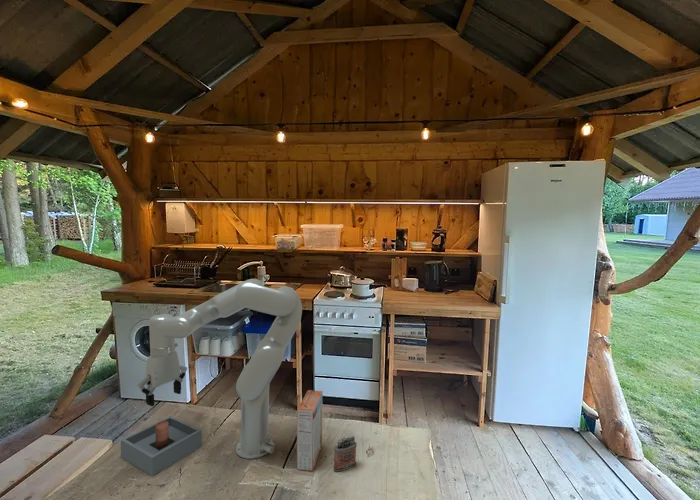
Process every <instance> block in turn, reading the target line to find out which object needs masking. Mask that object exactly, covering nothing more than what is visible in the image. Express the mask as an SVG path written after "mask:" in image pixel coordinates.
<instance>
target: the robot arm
mask: <svg viewBox="0 0 700 500" xmlns="http://www.w3.org/2000/svg"><path fill="white" fill-rule="evenodd" d="M302 305H303V304H302V300H301V298H300V296H299V294H298V292H296V290H295V289H294V288H293V287H291V286H281V287H279V288H276V289H275V288H270V287H267V286H265V285H264V283H263V282H262V281H261V280H260V279H257V278H250V279H245V280H244V281H242V282H240V283H238V284H236V285H234V286H232V287H230V288H228V289H226V290H225V291H224V290H223V291H222V292H221V293H218V294H216V295H214V296H213V297H212V298H210V299H208V300H207V301H204V302H203V303H201V304H198V305H197V306H195V307H193V308H191V309H188V310H187V311H185V312H182V313H181V314H179V315H177V316H175V317H174V315H172V314H169V313H162V314H155V315H152V316H150V318H149V321H148V323H149V324H148V328H149V329H148V331H149V349H150V352H149V353H150V355H149V356H148V357H147V361H146V364H145V376H144V378H143V379H142V380H141V381H140V382H139V383H137V385H136V386H137V388H138V389H139V390H140V392H141V393H143V394H145V403H146V404H147V406H150V407H154V406H155V394H154V392H155V390H156V388H158V387H161V386H163V385H165V384H168V383H171V382H173V393H174V394H177V395H181V394H182V382H183V379H184V377H185V376H186V372H187V370H188V367H187V366H183V365H180V361H179V356H178V353H177V350H176V348H178V347H179V345H178V343H177V342H175V338H176V339H184V338H187V337H189V336H190V335H192V334H193V333H194V332H195V331H196V330H198V329H199V328H202V327H203V326H205V325H207V324H209V323H211V322H213V321H215V320H217V319H220V318H223V319H224V318H228V317H230V316H232V315H234V314H237V312H240V311H242V310H244V309H249V310H252V311H256V312H259V313H263V314H268V315H271V316H276V317H275V319H274V321H273V322H272V324H271V325H270V327H269V330H268V331H267V333H266V334H265V336H263V338H262V340H261V341H260V342H259V344H257V346H256V349H255V351H254V352H253V354H252V356H251V358H250V359H249V361H248V362H247V363H246V365H244V367H243V369H242V370H241V373H240V375H239V377H238V378H237V380H236V384H235V389H236V393H237V395H238V398H240V403H241V405H240V406H241V407H240V408H241V409H240V440H239V441H238V443H237V444H236V445H235V446H236V447H235V453H236V454H237V455H238V456H239V457H240V458H243V459H247V460H250V459H251V460H253V459H254V460H255V459H258V458H261V457H263V456H265V455H267V454H268V453H269V454H273V452H274V449H275V447H276V443H275V442H273V440H272V439H271V435H269V411H270V410H269V409H270V408H269V407H270V405H269V404H270V386H271V385H270V383H271V382H272V380H273V378H274V377H275V375H276V373H277V371H278V370H279V368H280V366H281V365H282V363H283V359H284V354H285V351H286V349H287V347H288V345H289V343H290V342H291V340H292V339H293V337H294V335H295V333H296V331H297V329H298V327H299V326H300V322H301V320H302V314H303V306H302ZM145 385H146V386H145Z"/></svg>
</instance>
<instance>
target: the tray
mask: <svg viewBox="0 0 700 500" xmlns="http://www.w3.org/2000/svg"><path fill="white" fill-rule="evenodd" d="M160 421H168V422H169V445H168V446H166V447H165V448H163V449H161V450H157V449H156V424H157V423H158V422H160ZM202 432H203V430H202V429H201V428H198V427H196V426H195V425H192V424H190V423H187V422H185V421H183V420H180V419H178V418H177V417H175V416H171V415H170V416H168V417H165V418H163V419H161V420H159V421H157V422H155V423H154V424H151V425H149V426H146V427H145V428H142V429H140V430H138V431H136V432H134V433H132V434H130V435H129V436H126V437H124V438H121V439H120V458H121V459H124V460H125V461H126V462H128V463H130V464H131V465H133V466H135V467H136V468H138V469H140V470H141V471H143V472H144V473H146V474H148V475H149V476H151V477H154V476H155V475H157V474H159V473H160V472H161V471H163V470H165V469H166V468H169V467H170V466H171V465H173V464H175V463H176V462H178V461H180V460H182V459H183V458H184V457H186V456H188V455H189V454H192V453H193V452H194V451H196V450H198V449H199V448H201V447H202V444H203V443H202V441H203V440H202V439H203V438H202Z"/></svg>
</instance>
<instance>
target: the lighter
mask: <svg viewBox="0 0 700 500" xmlns="http://www.w3.org/2000/svg"><path fill="white" fill-rule="evenodd" d="M355 438H356V437H355V436H354V435H352V436H348V437H345V436H344V437H342V438H341V439H338V440H337V444H336V445H335V446H333V451H334V454H333V455H334V459H333V462H334V463H333V472H334V473H337V474H339V473H344V472H348V471H349V470H353V469H354V468H355V467H356V466H357V461H356V460H357V459H356V457H357V456H356V455H357V442H356V441H355V440H356V439H355Z"/></svg>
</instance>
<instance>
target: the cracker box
mask: <svg viewBox="0 0 700 500" xmlns="http://www.w3.org/2000/svg"><path fill="white" fill-rule="evenodd" d="M296 423H297V424H296V426H297V427H296V470H297V469H298V470H299V471H307V472H308V471H309V472H314V471H315V470H314V469H315V466H316V464H317V461H318V459H319V455H320V452H321V449H322V447H323V391H322V390H313V389H308V390H307V391H306V393H305V395H304V397H303V398H302V400H301V402H300V404H299V405H298V406H297V411H296Z"/></svg>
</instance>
